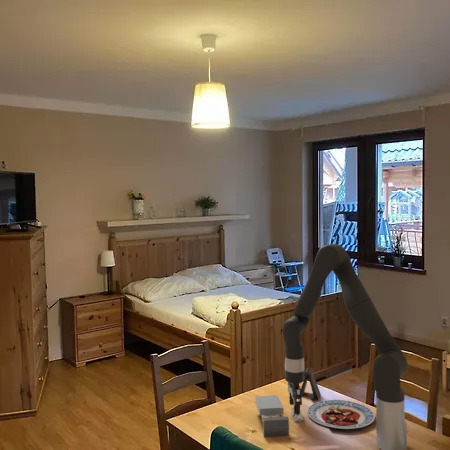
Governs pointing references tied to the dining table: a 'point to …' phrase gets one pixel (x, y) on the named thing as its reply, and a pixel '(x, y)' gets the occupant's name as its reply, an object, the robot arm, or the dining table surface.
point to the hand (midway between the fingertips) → (294, 409)
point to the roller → (297, 416)
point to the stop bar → (275, 426)
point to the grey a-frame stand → (314, 386)
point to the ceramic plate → (341, 414)
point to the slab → (269, 405)
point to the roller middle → (269, 416)
